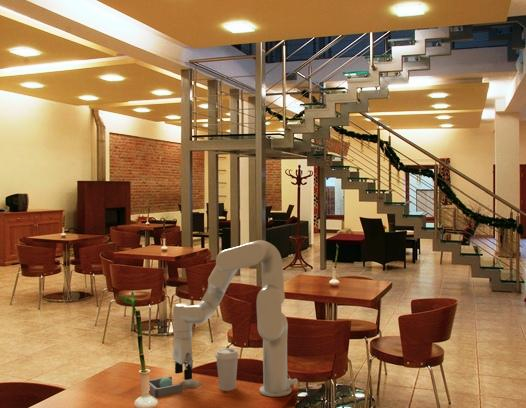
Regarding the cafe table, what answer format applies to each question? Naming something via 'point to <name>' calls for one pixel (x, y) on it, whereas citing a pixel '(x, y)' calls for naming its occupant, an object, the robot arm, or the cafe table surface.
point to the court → (163, 388)
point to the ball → (165, 382)
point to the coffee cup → (227, 368)
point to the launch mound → (190, 384)
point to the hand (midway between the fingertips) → (183, 376)
